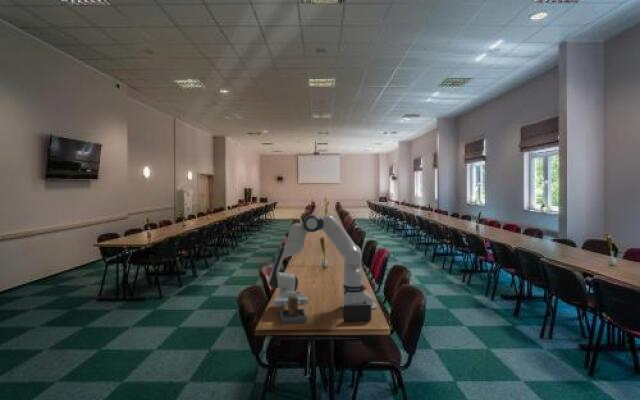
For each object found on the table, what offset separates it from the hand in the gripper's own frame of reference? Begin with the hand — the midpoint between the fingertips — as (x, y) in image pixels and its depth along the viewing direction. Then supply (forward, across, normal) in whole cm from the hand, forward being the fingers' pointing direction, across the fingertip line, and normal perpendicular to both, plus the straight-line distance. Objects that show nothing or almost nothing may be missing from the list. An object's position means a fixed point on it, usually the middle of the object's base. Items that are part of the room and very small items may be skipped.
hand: (293, 305), depth 209 cm
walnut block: (-1, 0, +6) cm, 6 cm away
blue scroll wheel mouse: (+12, +34, +8) cm, 38 cm away
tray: (-1, 0, +8) cm, 8 cm away
